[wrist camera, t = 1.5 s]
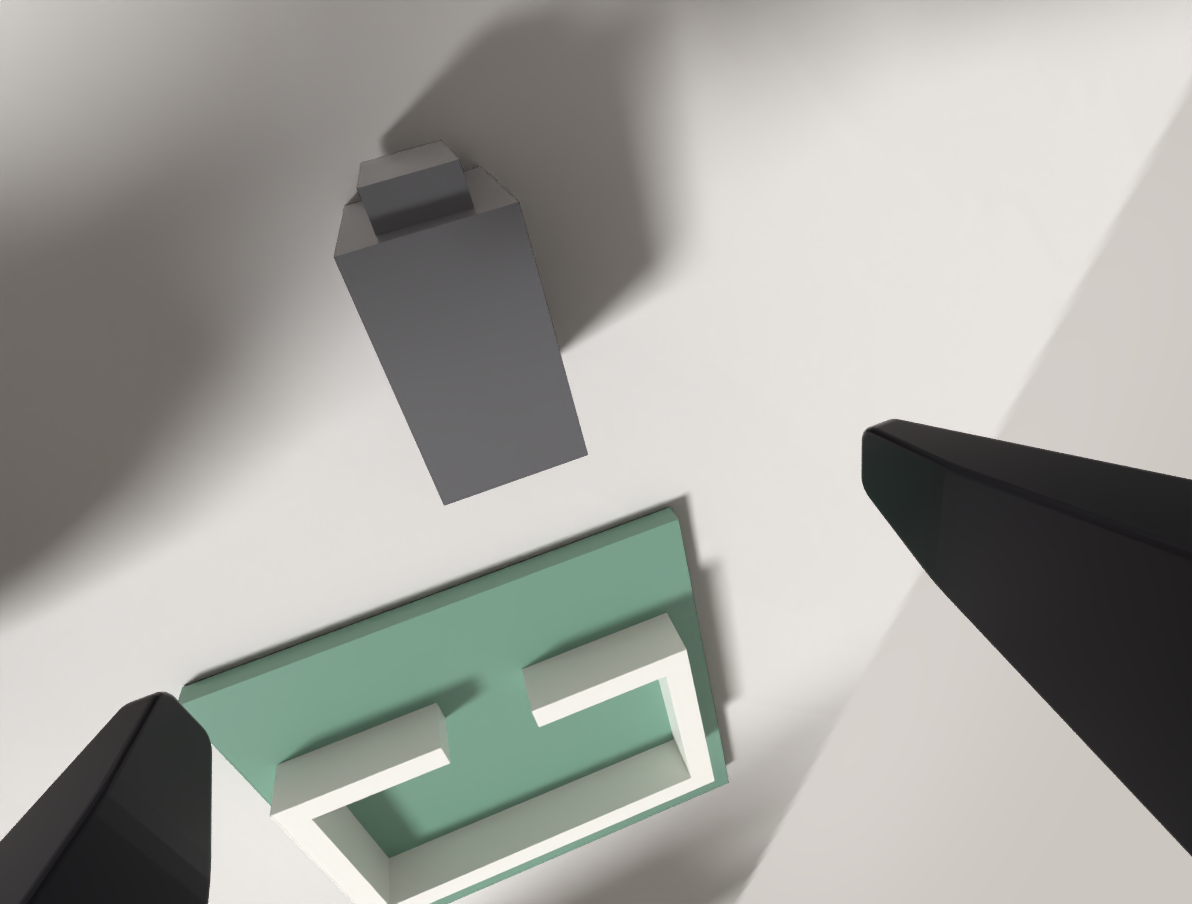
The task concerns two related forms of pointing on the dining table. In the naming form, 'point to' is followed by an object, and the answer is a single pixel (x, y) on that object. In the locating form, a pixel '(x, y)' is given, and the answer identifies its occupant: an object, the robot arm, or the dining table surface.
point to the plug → (458, 319)
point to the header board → (482, 720)
